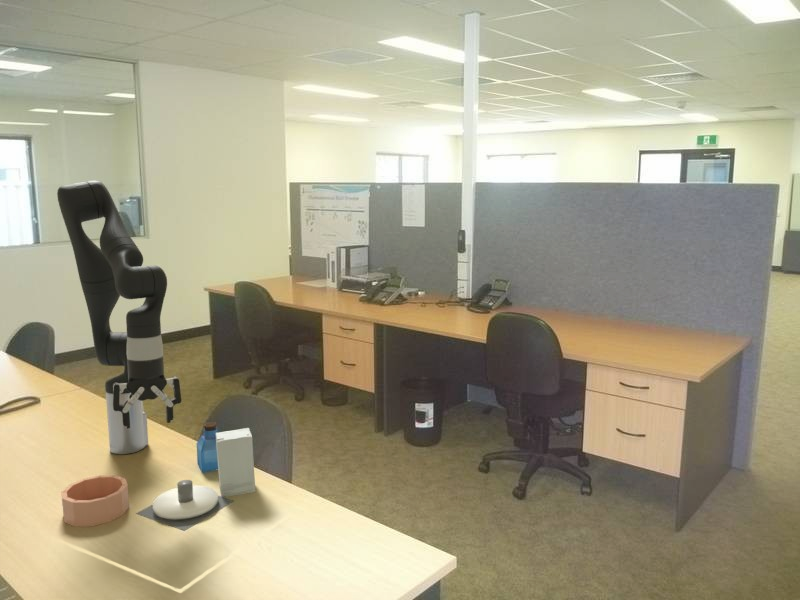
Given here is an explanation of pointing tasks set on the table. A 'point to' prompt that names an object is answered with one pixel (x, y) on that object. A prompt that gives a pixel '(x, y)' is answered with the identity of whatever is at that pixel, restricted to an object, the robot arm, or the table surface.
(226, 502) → the mat
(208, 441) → the perfume bottle
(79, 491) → the bowl
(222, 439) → the skincare box
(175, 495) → the lid
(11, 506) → the table surface
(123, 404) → the robot arm
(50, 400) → the table surface
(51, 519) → the table surface
